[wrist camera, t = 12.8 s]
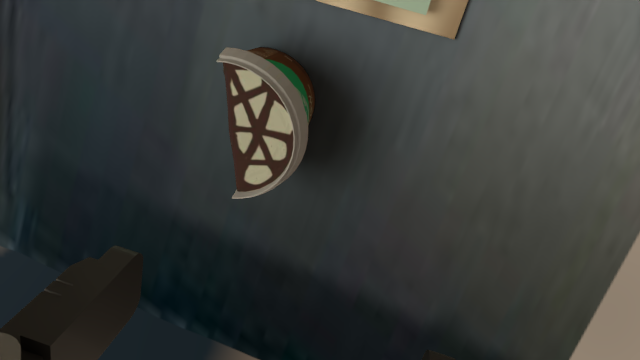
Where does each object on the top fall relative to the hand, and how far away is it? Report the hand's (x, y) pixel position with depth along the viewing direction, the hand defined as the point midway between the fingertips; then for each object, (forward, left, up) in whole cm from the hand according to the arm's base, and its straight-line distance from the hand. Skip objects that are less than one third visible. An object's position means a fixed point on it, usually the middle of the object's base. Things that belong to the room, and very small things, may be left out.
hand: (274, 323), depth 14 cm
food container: (+7, +6, -34) cm, 36 cm away
